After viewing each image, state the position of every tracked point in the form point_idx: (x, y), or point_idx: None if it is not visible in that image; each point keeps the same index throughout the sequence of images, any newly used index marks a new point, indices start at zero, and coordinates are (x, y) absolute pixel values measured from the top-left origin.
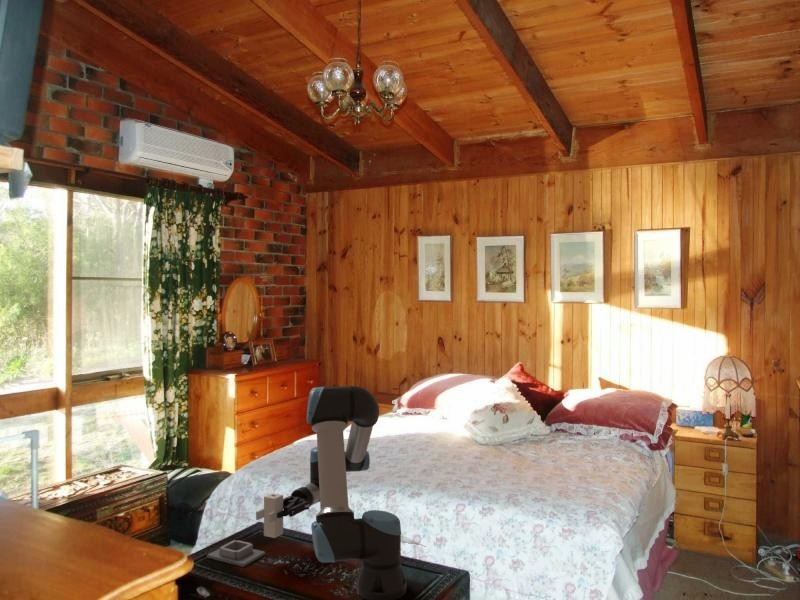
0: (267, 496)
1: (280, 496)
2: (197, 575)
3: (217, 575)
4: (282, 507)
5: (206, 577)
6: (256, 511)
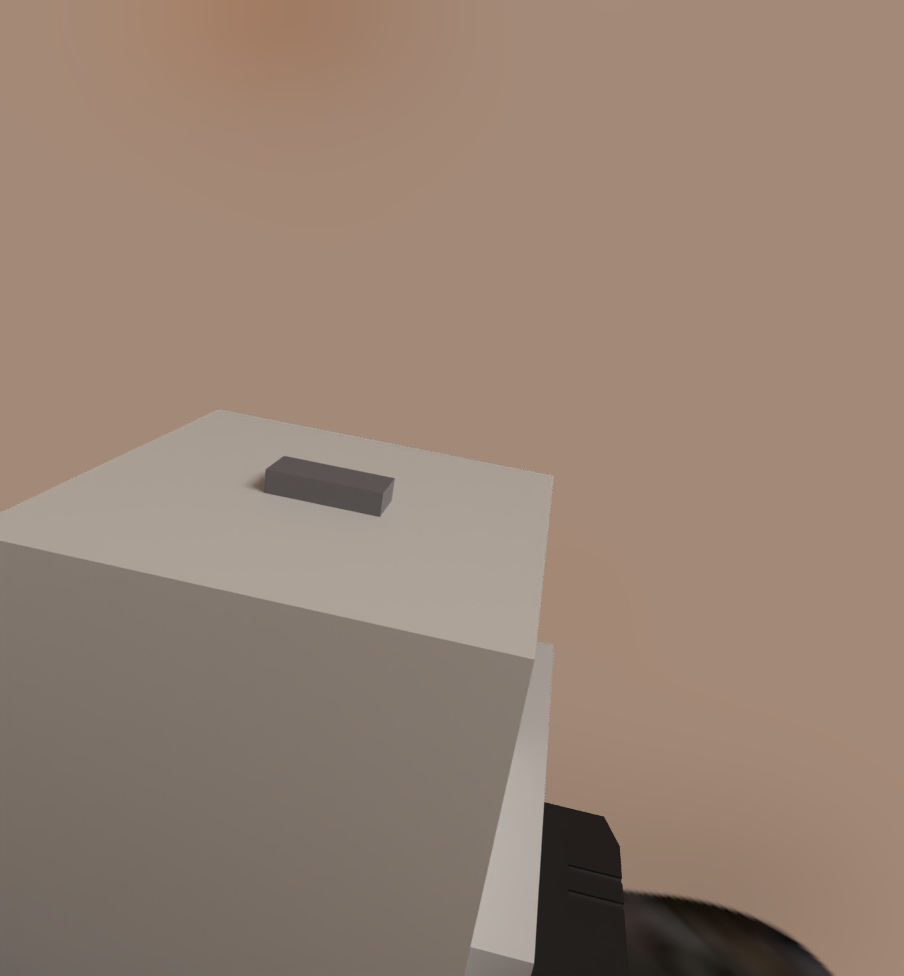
0: (484, 485)
1: (74, 488)
2: (777, 934)
3: (645, 962)
4: (9, 901)
5: (691, 918)
6: (551, 649)
